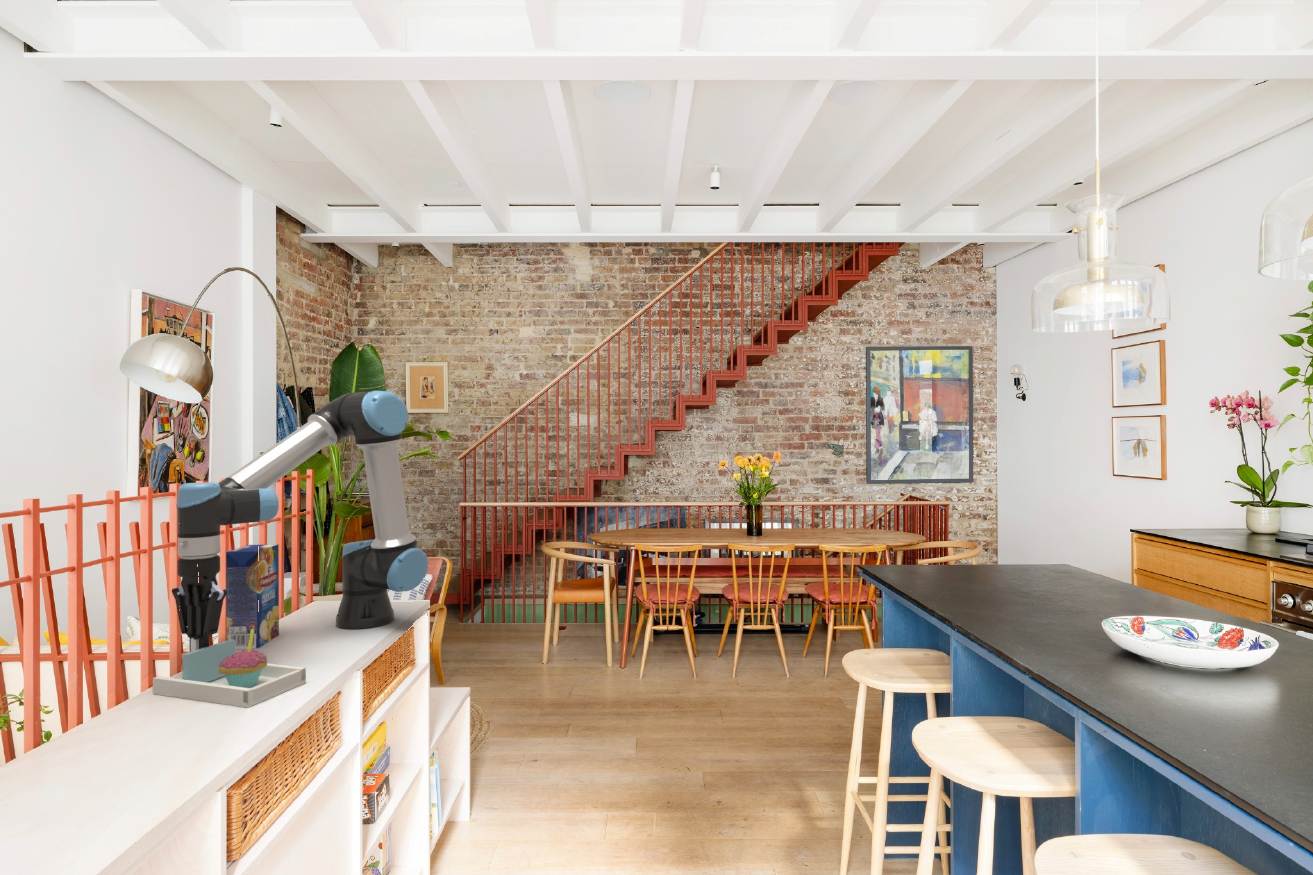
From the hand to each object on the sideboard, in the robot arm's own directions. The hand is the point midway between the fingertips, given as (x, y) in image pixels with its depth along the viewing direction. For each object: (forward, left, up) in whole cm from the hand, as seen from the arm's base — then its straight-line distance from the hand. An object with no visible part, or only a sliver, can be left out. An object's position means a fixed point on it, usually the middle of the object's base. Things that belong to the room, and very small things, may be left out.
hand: (199, 667), depth 145 cm
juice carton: (-27, -15, -4) cm, 31 cm away
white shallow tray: (0, +9, -3) cm, 9 cm away
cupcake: (0, +12, -3) cm, 13 cm away
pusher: (0, +1, -2) cm, 3 cm away
